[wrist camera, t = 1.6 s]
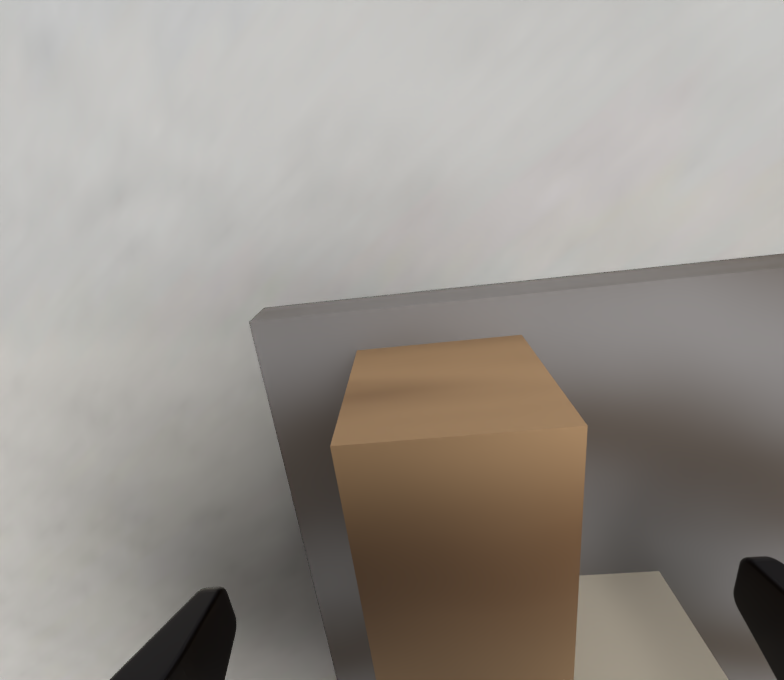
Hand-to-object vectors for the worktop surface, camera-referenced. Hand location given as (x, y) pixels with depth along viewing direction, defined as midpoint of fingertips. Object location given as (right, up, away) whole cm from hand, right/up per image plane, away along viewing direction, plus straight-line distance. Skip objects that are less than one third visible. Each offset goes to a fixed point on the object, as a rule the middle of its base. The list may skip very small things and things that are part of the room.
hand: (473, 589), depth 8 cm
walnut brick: (0, +2, +4) cm, 4 cm away
